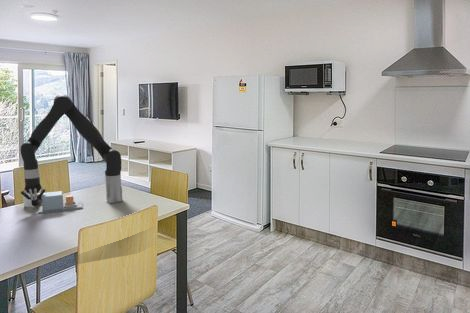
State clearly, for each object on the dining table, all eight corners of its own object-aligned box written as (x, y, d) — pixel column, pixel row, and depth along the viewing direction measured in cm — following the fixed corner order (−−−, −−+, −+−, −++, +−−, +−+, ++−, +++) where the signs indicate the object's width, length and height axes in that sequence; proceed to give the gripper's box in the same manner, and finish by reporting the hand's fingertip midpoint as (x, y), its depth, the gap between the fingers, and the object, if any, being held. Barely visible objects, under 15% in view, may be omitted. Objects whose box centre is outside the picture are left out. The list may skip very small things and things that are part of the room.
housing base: (81, 203, 222) (81, 199, 221) (82, 208, 211) (82, 205, 211) (40, 207, 212) (39, 204, 212) (38, 213, 201) (38, 210, 201)
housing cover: (63, 204, 216) (62, 190, 215) (63, 208, 208) (61, 194, 206) (43, 206, 212) (42, 192, 210) (42, 210, 203) (41, 197, 202)
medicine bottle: (34, 207, 213) (32, 188, 211) (23, 206, 214) (21, 187, 212) (42, 204, 220) (40, 185, 218) (32, 203, 221) (30, 184, 219)
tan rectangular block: (73, 204, 216) (73, 194, 215) (73, 206, 213) (73, 196, 212) (66, 205, 214) (65, 195, 213) (66, 207, 211) (65, 197, 210)
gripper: (17, 179, 196) (20, 209, 199) (44, 176, 202) (47, 206, 205) (19, 176, 203) (22, 205, 206) (45, 174, 209) (48, 202, 212)
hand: (34, 205), depth 206 cm, fingers closed
